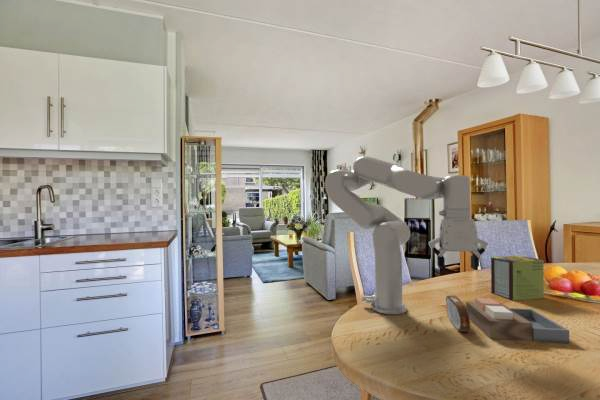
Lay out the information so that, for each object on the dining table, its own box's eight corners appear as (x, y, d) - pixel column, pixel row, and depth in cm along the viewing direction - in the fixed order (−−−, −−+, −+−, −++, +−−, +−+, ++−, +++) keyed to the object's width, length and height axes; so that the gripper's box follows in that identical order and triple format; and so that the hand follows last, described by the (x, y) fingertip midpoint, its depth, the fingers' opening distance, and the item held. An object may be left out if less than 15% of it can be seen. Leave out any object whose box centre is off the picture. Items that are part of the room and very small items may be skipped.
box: (533, 341, 82) (533, 328, 82) (502, 318, 98) (502, 307, 98) (569, 343, 81) (569, 330, 81) (531, 319, 97) (531, 308, 97)
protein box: (544, 298, 118) (544, 259, 118) (513, 301, 114) (512, 261, 114) (519, 290, 128) (519, 254, 128) (490, 292, 125) (490, 256, 125)
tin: (471, 337, 85) (471, 308, 85) (459, 336, 85) (459, 307, 85) (454, 316, 99) (454, 291, 99) (444, 316, 100) (444, 291, 100)
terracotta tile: (482, 309, 92) (482, 303, 92) (475, 304, 97) (475, 298, 97) (499, 310, 91) (499, 304, 91) (491, 304, 96) (491, 298, 96)
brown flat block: (490, 338, 84) (490, 321, 84) (466, 316, 99) (466, 301, 99) (532, 340, 82) (532, 323, 82) (501, 318, 98) (501, 303, 98)
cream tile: (494, 318, 85) (493, 311, 85) (485, 312, 90) (485, 305, 90) (512, 319, 85) (512, 312, 85) (503, 312, 90) (503, 306, 90)
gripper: (431, 215, 90) (432, 271, 89) (492, 214, 87) (493, 272, 87) (424, 214, 97) (425, 265, 97) (480, 213, 95) (481, 266, 95)
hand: (457, 268), depth 92 cm, fingers open, 9 cm apart
